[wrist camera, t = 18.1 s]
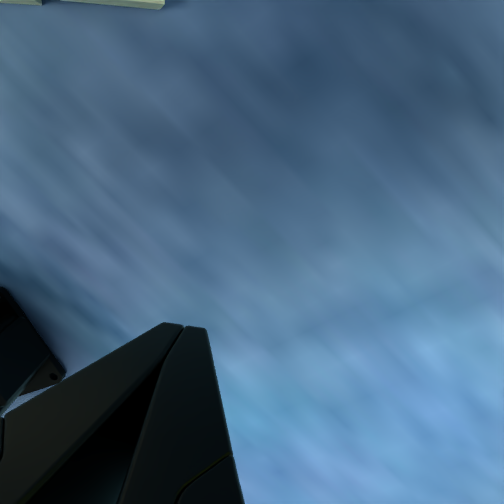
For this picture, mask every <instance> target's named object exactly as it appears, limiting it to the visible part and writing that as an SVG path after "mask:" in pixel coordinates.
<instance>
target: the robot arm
mask: <svg viewBox="0 0 504 504" xmlns="http://www.w3.org/2000/svg"><path fill="white" fill-rule="evenodd" d="M0 297H1V298H0V504H245V502H244V498H243V494H242V490H241V486H240V482H239V478H238V474H237V469H236V464H235V460H234V457H233V451H232V447H231V442H230V437H229V433H228V428H227V423H226V418H225V414H224V409H223V404H222V399H221V395H220V390H219V385H218V380H217V376H216V371H215V366H214V361H213V357H212V352H211V347H210V343H209V338H208V333H207V330H206V329H205V328H201V327H194V326H186V327H185V328H184V326H183V325H180V324H174V323H167V322H163V323H161V324H159V325H157V326H156V327H154V328H152V329H150V330H149V331H147V332H145V333H144V334H142V335H140V336H138V337H137V338H135V339H133V340H132V341H130V342H128V343H126V344H125V345H123V346H121V347H120V348H118V349H116V350H114V351H113V352H111V353H109V354H108V355H106V356H104V357H102V358H101V359H99V360H97V361H96V362H94V363H92V364H90V365H89V366H87V367H85V368H84V369H82V370H80V371H78V372H77V373H75V374H73V375H71V376H70V377H68V378H66V379H65V380H63V378H64V377H65V371H64V369H63V368H62V366H61V365H60V364H59V362H58V361H57V359H56V358H55V357H54V355H53V354H52V352H51V351H50V350H49V348H48V347H47V345H46V344H45V342H44V341H43V340H42V338H41V337H40V335H39V334H38V333H37V331H36V330H35V328H34V327H33V326H32V324H31V323H30V321H29V320H28V319H27V317H26V316H25V314H24V313H23V312H22V310H21V309H20V307H19V306H18V305H17V303H16V302H15V300H14V299H13V298H12V296H11V295H10V293H9V292H8V291H7V290H6V289H5V288H3V287H0ZM55 374H56V375H55ZM62 380H63V381H62ZM55 384H56V385H55ZM52 385H54V386H53V387H51V388H49V389H47V390H46V391H44V392H42V393H41V394H39V395H37V396H35V397H34V398H32V399H30V400H29V401H27V402H25V403H23V404H22V405H20V406H18V407H17V408H15V409H13V410H11V411H10V412H8V413H6V414H5V416H4V418H3V417H1V415H2V414H3V413H4V412H5V411H6V410H7V409H8V407H9V406H10V405H11V404H12V403H13V402H14V401H15V399H16V398H17V397H18V396H21V395H24V394H27V393H30V392H33V391H36V390H39V389H43V388H46V387H49V386H52Z"/></svg>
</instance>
